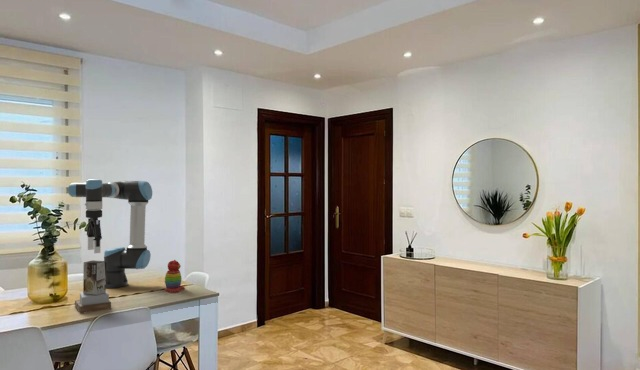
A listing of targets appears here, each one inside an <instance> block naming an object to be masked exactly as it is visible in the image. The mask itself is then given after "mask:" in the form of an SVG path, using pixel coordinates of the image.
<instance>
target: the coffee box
mask: <svg viewBox="0 0 640 370" xmlns="http://www.w3.org/2000/svg"><path fill="white" fill-rule="evenodd" d="M82 281H83V285H82V286H83V290H82V292H83V294H93V295H98V294H102V293H106V291H107V288H106V261H104V260H89V261H88V260H87V261H84V262H83V280H82Z"/></svg>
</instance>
